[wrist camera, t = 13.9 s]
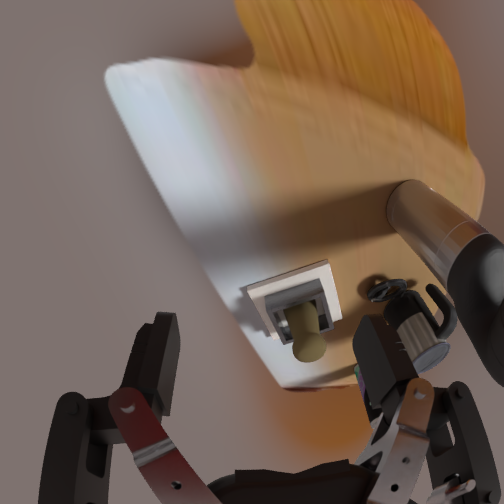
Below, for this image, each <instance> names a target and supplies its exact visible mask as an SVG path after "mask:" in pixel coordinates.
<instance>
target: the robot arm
mask: <svg viewBox="0 0 504 504" xmlns="http://www.w3.org/2000/svg"><path fill="white" fill-rule="evenodd" d="M387 218H388V221H389V223H390V225H391V226H392V227H393V228H394V229H395V230H396V231H397V232H398V233H399V235H400V236H401V237H402V238H403V239H404V240H405V241H406V242H407V244H408V245H409V246H410V247H411V248H412V249H413V250H414V252H415V253H416V254H417V255H418V256H419V257H420V259H421V260H422V261H423V262H424V263H425V265H426V266H427V267H428V268H429V269H430V271H431V272H432V273H433V274H434V276H435V277H436V278H437V279H438V280H439V282H440V283H441V284H442V286H443V287H444V288H445V289H446V291H447V292H448V293H449V295H450V296H451V297H452V299H453V301H454V304H455V309H456V313H457V316H458V318H459V320H460V322H461V324H462V326H463V328H464V329H465V331H466V333H467V335H468V336H469V338H470V340H471V342H472V343H473V345H474V347H475V349H476V351H477V353H478V355H479V357H480V359H481V361H482V363H483V364H484V366H485V368H486V369H487V371H488V372H489V373H490V375H491V376H492V378H493V379H494V380H495V381H496V382H497V383H498V384H500V385H501V386H502V387H504V245H503V244H502V243H501V242H500V241H499V240H498V239H497V238H496V237H495V236H493V235H492V234H491V233H489V231H488V230H486V229H485V228H484V227H483V226H482V225H480V224H479V223H478V222H476V221H475V220H474V219H473V218H471V217H470V216H469V215H468V214H466V213H465V212H464V211H462V210H461V209H460V208H458V207H457V206H456V205H454V204H453V203H451V202H450V201H449V200H447V199H446V198H444V197H443V196H442V195H440V194H439V193H437V192H436V191H435V190H433V189H432V188H430V187H429V186H427V185H425V184H424V183H422V182H420V181H417V180H409V181H406V182H404V183H402V184H400V185H399V186H398V187H397V188H396V189H395V190H394V191H393V193H392V194H391V196H390V198H389V201H388V204H387ZM405 349H406V348H405V346H404V344H403V343H402V340H401V338H400V336H399V334H398V332H397V331H396V330H395V329H394V328H393V327H392V326H391V325H387V324H386V322H385V320H384V318H383V316H382V315H381V314H373V315H364V316H363V318H362V320H361V322H360V324H359V327H358V329H357V331H356V333H355V335H354V338H353V351H354V354H355V357H356V360H357V362H358V365H359V368H360V371H361V374H362V377H363V381H364V384H365V387H366V390H367V393H368V396H369V399H370V403H371V406H372V409H376V408H382V411H383V412H382V413H381V414H380V417H379V419H378V421H377V424H376V426H375V428H374V431H373V433H372V435H371V438H370V440H369V442H368V444H367V446H366V448H365V449H364V451H363V452H362V453H361V454H360V456H359V457H358V459H357V460H356V462H355V464H349V460H348V459H345V460H341V461H335V462H329V463H324V464H320V465H318V466H315V467H313V468H310V469H307V470H305V471H302V472H299V473H295V474H291V473H284V472H277V471H270V470H264V469H262V470H235V474H232V475H228V476H225V477H221V478H219V479H217V480H215V481H213V482H211V483H210V484H208V485H207V486H206V485H205V483H204V482H203V481H202V480H201V479H200V477H199V476H198V475H197V474H196V473H195V471H194V470H193V469H192V467H191V466H190V465H189V464H188V462H187V461H186V460H185V458H184V457H183V455H182V454H181V453H180V452H179V450H178V449H177V447H176V446H175V444H174V443H173V442H172V441H171V439H170V438H169V436H168V435H167V433H166V432H165V430H164V429H163V427H162V426H161V420H162V416H170V409H171V403H172V396H173V389H174V382H175V376H176V370H177V364H178V358H179V352H180V334H179V328H178V323H177V317H176V314H175V313H169V312H157V314H156V316H155V320H154V323H153V324H148V323H145V324H144V325H143V326H142V327H141V328H140V330H139V331H138V332H137V335H136V338H135V341H134V344H133V347H132V350H131V353H130V357H129V360H128V363H127V367H126V370H125V374H124V377H123V381H122V384H121V386H120V388H119V389H117V390H116V391H114V392H113V393H112V395H110V396H107V397H102V398H92V399H85V398H84V396H82V395H81V394H79V393H77V392H68V393H66V394H64V395H62V396H61V397H60V399H59V400H58V402H57V405H56V409H55V412H54V416H53V420H52V424H51V428H50V432H49V437H48V441H47V446H46V451H45V456H44V461H43V467H42V474H41V481H40V489H39V499H38V504H108V490H109V477H110V466H111V457H112V448H113V444H120V443H126V444H127V446H128V447H129V449H130V451H131V453H132V455H133V457H134V462H135V464H136V466H137V468H138V469H139V471H140V472H141V474H142V476H143V477H144V479H145V480H146V482H147V483H148V485H149V486H150V488H151V489H152V491H153V492H154V494H155V495H156V496H157V498H158V499H159V500H160V502H161V503H162V504H417V503H416V502H414V501H413V500H411V499H410V496H411V494H412V491H413V489H414V487H415V484H416V482H417V479H418V476H419V474H420V471H421V468H422V465H423V462H424V459H425V456H426V459H427V463H428V468H429V472H430V477H431V482H432V488H433V491H432V493H431V496H430V497H428V499H427V501H426V503H427V504H498V503H499V500H500V497H501V489H500V483H499V479H498V474H497V470H496V466H495V462H494V458H493V455H492V451H491V448H490V444H489V442H488V438H487V435H486V432H485V429H484V426H483V423H482V420H481V417H480V415H479V412H478V410H477V407H476V404H475V402H474V399H473V397H472V394H471V392H470V390H469V388H468V387H467V385H466V384H464V383H463V382H460V381H456V382H453V383H452V384H451V385H450V386H449V387H448V388H438V387H433V386H432V385H431V383H430V382H429V381H427V380H426V379H423V378H419V376H418V374H417V372H416V370H415V368H414V365H413V363H412V361H411V359H410V357H409V355H408V353H407V350H405ZM448 421H450V424H451V427H452V430H453V434H454V437H455V444H454V446H453V443H452V440H451V437H450V433H449V430H448V427H447V424H446V423H447V422H448Z"/></svg>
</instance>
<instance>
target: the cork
mask: <svg viewBox="0 0 504 504" xmlns="http://www.w3.org/2000/svg"><path fill="white" fill-rule="evenodd" d="M283 312H284V315H285V318H286V320H287V323H288V326H289V328H290V331H291V334H292V337H293V339H294V343H293V346H292V349H293V354H294V356H295V357H296V359H297V360H299V361H301V362H313V361H316V360H318V359H320V358H321V357H322V356H323V355H324V353H325V351H326V342H325V340H324V338H323V337H322V336H321V335H320V331H319V322H318V313H317V304H316V301H315V299H313V300H310V301H307V302H304V303H301V304H298V305H295V306H292V307H289V308H286V309H283Z"/></svg>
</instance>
